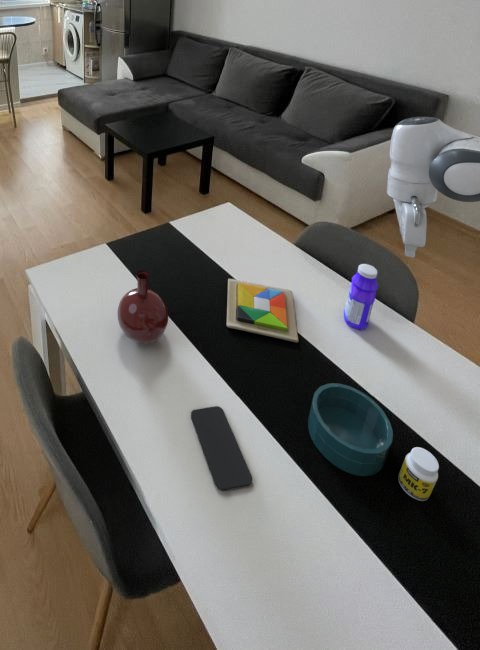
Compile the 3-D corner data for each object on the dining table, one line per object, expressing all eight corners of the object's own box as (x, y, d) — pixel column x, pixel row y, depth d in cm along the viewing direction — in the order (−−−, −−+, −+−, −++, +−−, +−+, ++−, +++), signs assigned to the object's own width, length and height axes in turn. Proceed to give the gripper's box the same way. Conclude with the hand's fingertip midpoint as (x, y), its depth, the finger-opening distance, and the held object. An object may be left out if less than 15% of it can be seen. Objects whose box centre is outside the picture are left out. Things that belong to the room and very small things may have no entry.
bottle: (343, 307, 118) (354, 257, 112) (367, 314, 115) (380, 263, 109) (342, 326, 113) (354, 274, 106) (367, 334, 110) (382, 282, 103)
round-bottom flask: (144, 365, 105) (144, 303, 98) (107, 332, 115) (105, 273, 107) (178, 334, 113) (180, 275, 105) (141, 306, 122) (141, 250, 115)
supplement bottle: (395, 486, 80) (405, 458, 77) (400, 466, 83) (411, 438, 80) (427, 508, 76) (439, 480, 73) (431, 486, 79) (443, 458, 76)
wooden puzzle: (226, 330, 113) (227, 321, 112) (227, 280, 130) (228, 271, 128) (298, 347, 108) (300, 336, 106) (290, 292, 124) (292, 283, 123)
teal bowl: (397, 446, 86) (405, 423, 83) (364, 493, 79) (372, 470, 76) (328, 393, 96) (334, 371, 94) (294, 430, 90) (299, 408, 87)
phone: (221, 405, 94) (255, 483, 81) (221, 407, 95) (254, 485, 81) (189, 410, 94) (217, 489, 80) (188, 412, 94) (217, 492, 80)
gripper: (438, 210, 84) (432, 272, 87) (423, 174, 101) (418, 227, 104) (398, 205, 87) (394, 265, 90) (390, 171, 104) (386, 223, 107)
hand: (406, 245), depth 97 cm, fingers open, 8 cm apart
